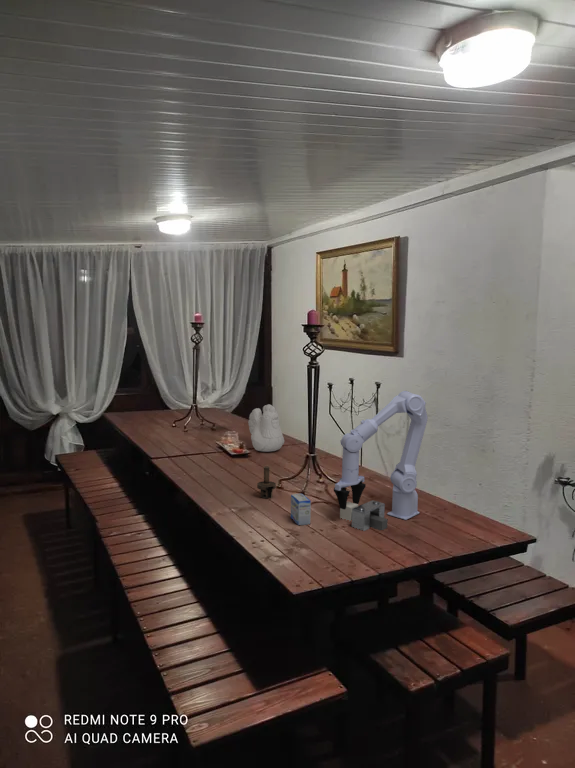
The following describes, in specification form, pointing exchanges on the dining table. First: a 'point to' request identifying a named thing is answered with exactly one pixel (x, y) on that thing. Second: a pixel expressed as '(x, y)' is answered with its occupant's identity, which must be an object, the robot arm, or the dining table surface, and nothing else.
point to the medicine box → (300, 509)
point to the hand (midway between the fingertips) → (349, 505)
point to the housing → (366, 514)
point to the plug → (374, 520)
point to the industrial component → (266, 485)
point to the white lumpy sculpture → (265, 429)
